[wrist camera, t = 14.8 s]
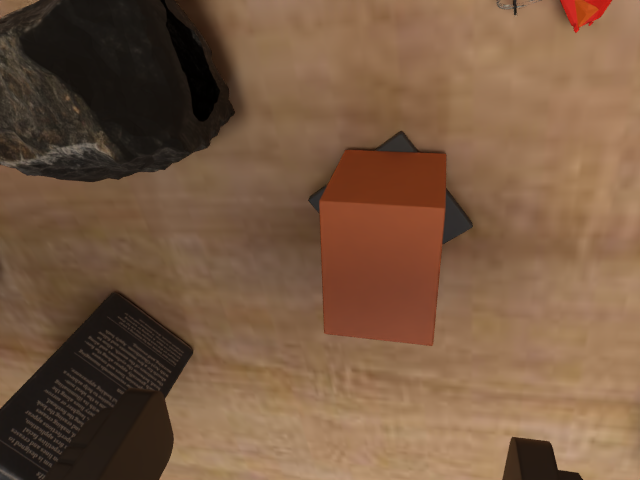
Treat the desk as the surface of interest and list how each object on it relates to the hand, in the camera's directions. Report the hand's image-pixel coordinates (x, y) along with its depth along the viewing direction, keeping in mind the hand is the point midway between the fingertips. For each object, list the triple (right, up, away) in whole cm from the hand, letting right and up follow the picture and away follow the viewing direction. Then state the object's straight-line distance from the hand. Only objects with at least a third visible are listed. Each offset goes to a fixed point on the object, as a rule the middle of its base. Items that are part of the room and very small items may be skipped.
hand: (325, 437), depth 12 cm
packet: (+3, +6, +10) cm, 12 cm away
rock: (-4, +12, +6) cm, 14 cm away
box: (-11, -2, +19) cm, 22 cm away
